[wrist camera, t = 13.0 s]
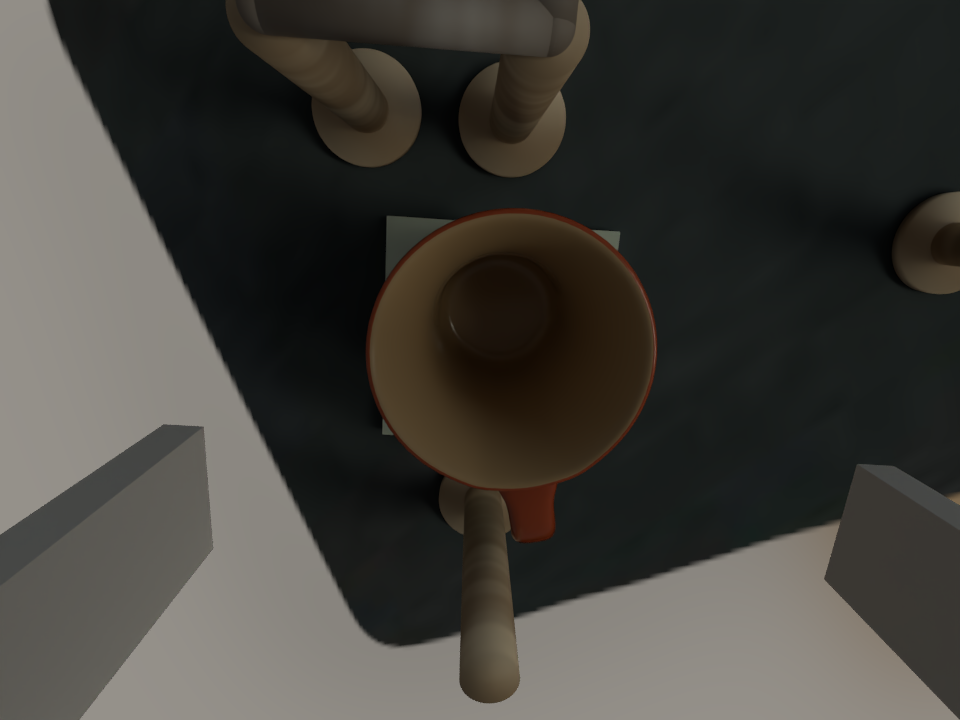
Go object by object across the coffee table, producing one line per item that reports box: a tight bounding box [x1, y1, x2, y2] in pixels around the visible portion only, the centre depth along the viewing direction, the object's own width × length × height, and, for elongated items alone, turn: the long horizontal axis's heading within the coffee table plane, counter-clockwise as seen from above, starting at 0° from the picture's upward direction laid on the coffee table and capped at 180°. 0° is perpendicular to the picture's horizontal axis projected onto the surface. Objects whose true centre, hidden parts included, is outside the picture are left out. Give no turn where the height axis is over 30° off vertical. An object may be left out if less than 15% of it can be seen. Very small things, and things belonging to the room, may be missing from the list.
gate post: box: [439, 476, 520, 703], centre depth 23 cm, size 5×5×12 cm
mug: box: [366, 208, 657, 543], centre depth 21 cm, size 12×9×10 cm
